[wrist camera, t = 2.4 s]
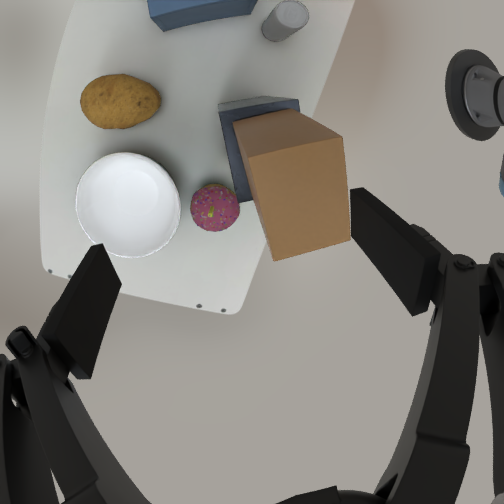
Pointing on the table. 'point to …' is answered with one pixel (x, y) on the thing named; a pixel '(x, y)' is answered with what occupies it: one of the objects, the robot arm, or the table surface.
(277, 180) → the package
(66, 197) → the table surface
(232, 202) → the cupcake
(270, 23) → the beverage can
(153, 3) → the lid
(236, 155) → the stand
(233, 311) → the table surface
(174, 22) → the chest
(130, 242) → the bowl
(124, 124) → the potato
